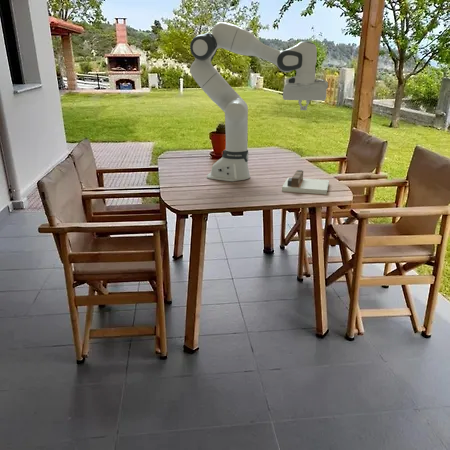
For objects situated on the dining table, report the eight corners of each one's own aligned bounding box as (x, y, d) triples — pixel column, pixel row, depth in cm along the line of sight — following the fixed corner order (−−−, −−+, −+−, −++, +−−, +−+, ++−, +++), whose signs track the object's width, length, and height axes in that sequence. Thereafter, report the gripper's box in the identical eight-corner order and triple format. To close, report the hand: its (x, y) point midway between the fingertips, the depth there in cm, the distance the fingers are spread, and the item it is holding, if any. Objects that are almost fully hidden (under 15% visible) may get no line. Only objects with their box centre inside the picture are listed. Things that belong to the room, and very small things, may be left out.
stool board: (281, 191, 187) (282, 181, 185) (287, 181, 203) (288, 172, 201) (326, 194, 181) (327, 184, 180) (328, 184, 198) (329, 175, 196)
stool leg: (296, 177, 201) (297, 169, 199) (303, 178, 200) (303, 170, 198) (291, 186, 186) (291, 178, 184) (298, 187, 185) (298, 178, 184)
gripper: (328, 79, 190) (326, 110, 195) (285, 79, 195) (283, 109, 200) (327, 79, 184) (325, 111, 189) (282, 79, 189) (281, 110, 194)
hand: (303, 110), depth 195 cm, fingers closed
